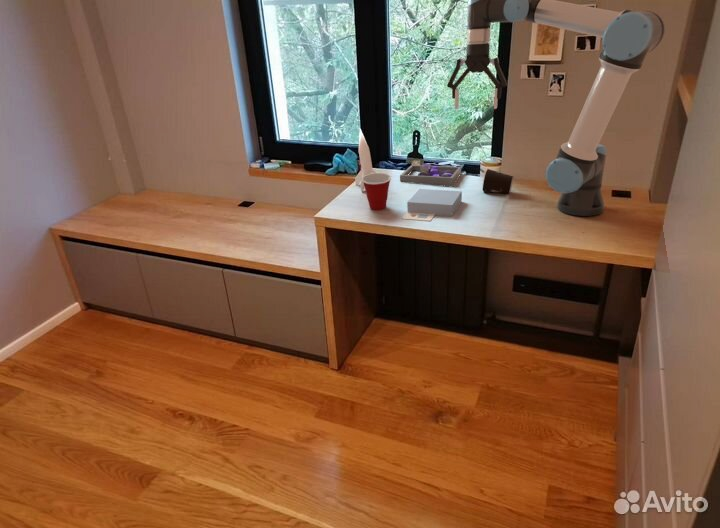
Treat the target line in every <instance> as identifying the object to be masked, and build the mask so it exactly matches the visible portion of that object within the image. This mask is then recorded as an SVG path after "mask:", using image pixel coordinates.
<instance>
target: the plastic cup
mask: <svg viewBox="0 0 720 528" xmlns="http://www.w3.org/2000/svg"><path fill="white" fill-rule="evenodd" d="M391 180H392V175H391V174H389V173H387V172H386V173H384V172H376V173H372V174H368V175H365V176H363V177H362V181H363V183H364V189H365V193H366V197H367V201H368V205H369V208H370V210H373V211H383V210H385V209H386V207H387V201H388V195H389V188H390V182H391Z"/></svg>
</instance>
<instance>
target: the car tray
mask: <svg viewBox="0 0 720 528" xmlns="http://www.w3.org/2000/svg"><path fill="white" fill-rule="evenodd" d="M420 166H423V164H422V165H421V164H419V165H418V164H416V165H415V164H411V165H410V166H409V167H408V168H407V169H405V170H404V171H403V172H402V173H401V174H400V175H399V182H400V181H402V182H401V183H409V182H414V183H413V184H419V183H423V184H422V185H429V184H434V185H433V186H439V185H443V186H442V187H449V186H453V187H454V185H455V184H456V182H457V181H458V179H459V178H458V176H459V175H460V176H461V175H462V166H448V165H445V166H443V165H441V166H440V165H437V166H438V171H439V172H440V173H444V172H445V171H447V170H449V171H451V172H452V174H453V175H452V176H451V177H435V176H418V175H410V174H411V173H412V172H413V171H416V172H420ZM434 166H435V165H431V167H432V168H433V167H434ZM410 172H411V173H410ZM409 173H410V174H409ZM408 174H409V175H408ZM460 176H459V177H460ZM457 178H458V179H457ZM456 180H457V181H456ZM455 181H456V182H455ZM454 183H455V184H454ZM444 185H445V186H444Z"/></svg>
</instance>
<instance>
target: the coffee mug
mask: <svg viewBox="0 0 720 528" xmlns="http://www.w3.org/2000/svg"><path fill="white" fill-rule="evenodd" d="M513 184H514V176H513V175H510V174H506V173H502V172H500V171H496V170H493V169H489V168H486V171H485V174H484V178H483V183H482V192H487V193H488V192H490V193H503V194H505V193H506V194H510V193H511V191H512V187H513Z"/></svg>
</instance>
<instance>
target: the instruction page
mask: <svg viewBox="0 0 720 528" xmlns="http://www.w3.org/2000/svg"><path fill="white" fill-rule="evenodd" d="M435 216H436V215H435V214H424V213H411V212H408V211H407V212H406V214H404V216H403V217H402V218H401V219H402V220H411V221H420V222H421V221H423V222H424V221H425V222H431V221H432V220H433V218H434V217H435Z"/></svg>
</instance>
